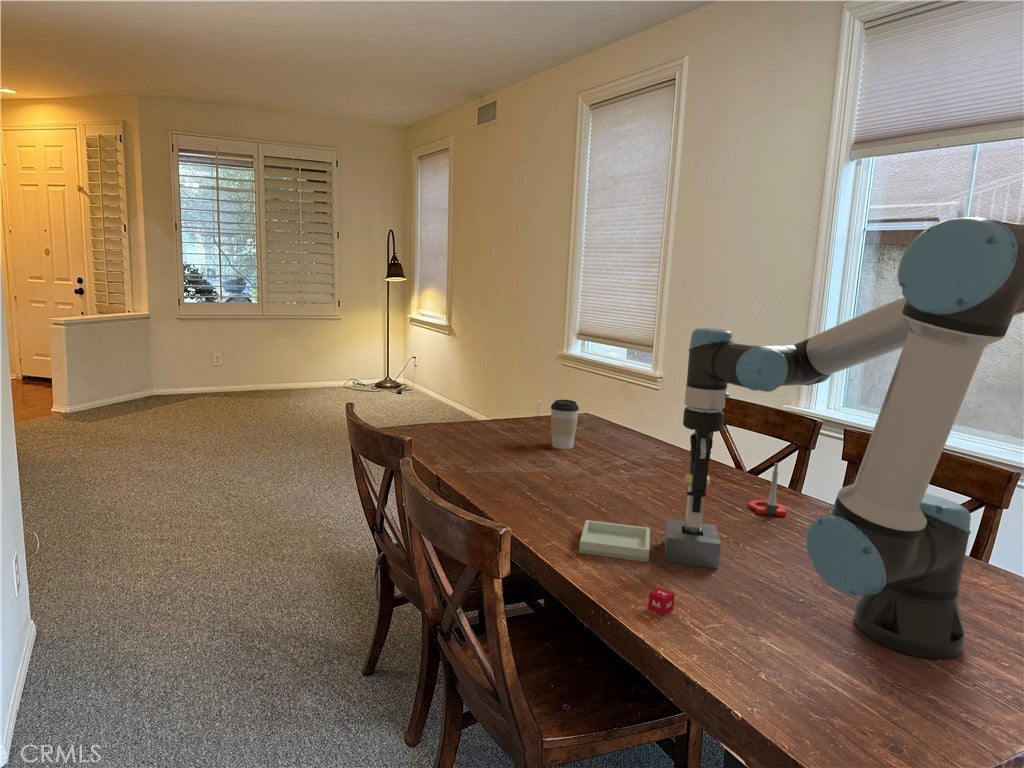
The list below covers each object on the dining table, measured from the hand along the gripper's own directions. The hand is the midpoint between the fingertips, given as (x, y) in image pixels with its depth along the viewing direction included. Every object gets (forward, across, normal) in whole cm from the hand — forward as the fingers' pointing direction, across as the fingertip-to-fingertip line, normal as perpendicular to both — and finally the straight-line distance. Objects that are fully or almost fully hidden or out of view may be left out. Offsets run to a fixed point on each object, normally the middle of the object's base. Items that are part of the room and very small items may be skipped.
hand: (693, 522), depth 130 cm
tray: (+7, 0, +15) cm, 17 cm away
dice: (+7, -24, +6) cm, 26 cm away
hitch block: (+7, 0, 0) cm, 7 cm away
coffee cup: (+7, +72, +36) cm, 81 cm away
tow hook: (+7, +33, -20) cm, 39 cm away
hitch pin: (+7, 0, 0) cm, 7 cm away
